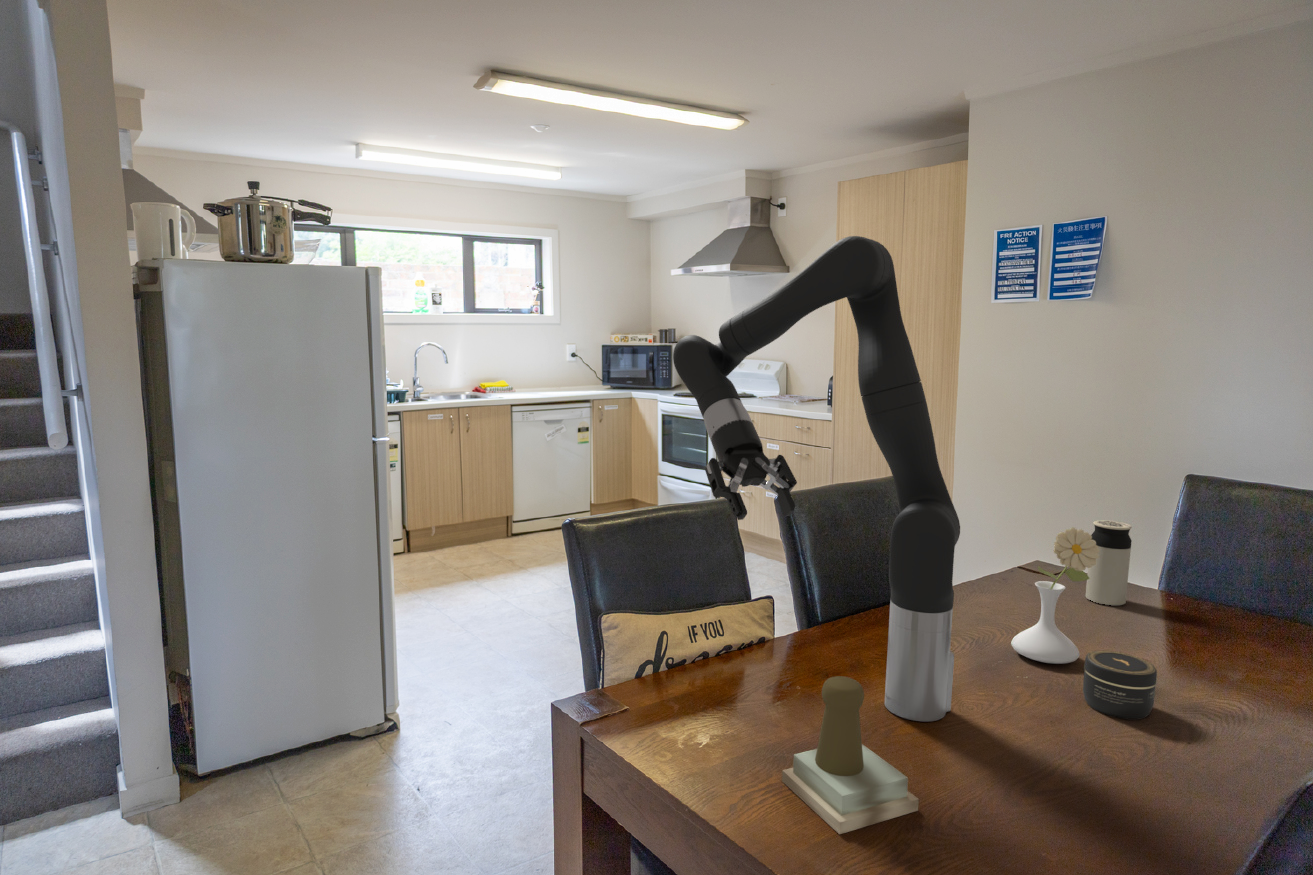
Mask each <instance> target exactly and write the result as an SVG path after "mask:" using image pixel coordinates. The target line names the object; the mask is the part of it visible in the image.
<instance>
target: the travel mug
mask: <svg viewBox="0 0 1313 875" xmlns="http://www.w3.org/2000/svg"><path fill="white" fill-rule="evenodd" d="M1093 525H1094V530H1093V532H1092V534H1090V535H1091V536H1092V539H1091V540H1095V541H1096V545H1097V546H1098V547H1099V553H1097V554H1098V555H1099V558H1098V559H1096V563H1097V564H1096V565H1092V567H1091V568H1087V573H1086V574H1087V575H1088V577H1089V578H1090V579H1088V580H1086V586H1085V598H1086V599H1088V600H1089V601H1090V600H1091V601H1090V602H1092V601H1093V602H1092V603H1095V602H1096V603H1095V604H1098V603H1099V604H1100V605H1102V604H1105V605H1104V606H1109V605H1111V606H1110V607H1119V606H1123V605H1125V604H1126V603H1127V591H1128V581H1129V571H1130V570H1129V569H1130V561H1131V552H1132V551H1131V549H1132V541H1133V540H1132V538H1131V536H1130V530H1131V529H1132V525H1131V524H1129V523H1125V522H1121V521H1116V520H1095V521H1093ZM1099 604H1098V605H1099Z"/></svg>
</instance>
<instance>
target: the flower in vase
mask: <svg viewBox="0 0 1313 875" xmlns="http://www.w3.org/2000/svg"><path fill="white" fill-rule="evenodd" d="M1091 535H1092V534H1090V533H1089V532H1088V531H1084V529H1083V528H1080V529H1078V528H1076V527H1070V529H1069V528H1067V529H1065V530H1064V532H1063V531H1061V532H1059V533H1057V536H1056V537H1055V540H1056V541H1054V544H1053V545H1054V546H1053V547H1054V548H1053V553H1054V554H1055V555H1056V558H1057V559H1058V560H1059V563H1060V564H1061V565H1062V566H1063V565H1064V566H1065V567H1064V568H1063V569H1062V571H1061V572H1060V573H1059V575H1058V576H1056V575H1055V574H1054V573H1052V572H1049V571H1046V570H1044V569H1043V568H1042V567H1040V565H1038V566H1037V568H1038V571H1039V572H1040V573H1042V574H1044V575H1046V576H1049V577H1051V578H1052V579H1055V580H1054V581H1047V580H1045V581H1044V580H1042V581H1041V580H1039V581H1035V582H1034V585H1035V586H1036V588H1037V590H1038V592H1039V595H1040V596H1039V597H1040V602H1041V604H1040V606H1041V609H1040V617H1039V620H1038V622H1037V623H1036V624H1034V625H1033V626H1031V627H1029V628H1027V629H1024V630H1022V631H1020V632H1019V633H1018V634H1016V635H1015V636H1014V637H1013V638H1012V640H1011V643H1010V645H1011V647H1012V648H1013V650H1014V651H1015V652H1017V653H1018V654H1019V655H1022V656H1024V657H1026V658H1027V659H1030V660H1033V661H1037V662H1040V663H1046V664H1056V665H1059V664H1069V663H1073V662H1075V661H1077V659H1078V658H1079V657H1080V652H1079V649H1078V647H1077V646H1076V645H1075V644H1074V642H1073V641H1072V640H1071V639H1070V638H1068V636H1066V635H1065V634H1064V633H1063V632H1062V630H1061V629H1059V628H1058V627H1057V625H1056V622H1055V611H1056V606H1057V602H1058V599H1059V597H1060V595H1061V594H1062V592H1064V590H1066V586H1065V585H1064V584H1061V583H1057V582H1058V581H1059V580H1060V578H1062V576H1063V575H1064V574H1065V575H1066V576H1067V577H1068V578H1069V579H1070V580H1071V581H1072V582H1084V581H1087V580H1088V579H1090V578H1089V577H1088V575H1087V574H1088V573H1086V572H1085V570H1086V568H1087V569H1088V568H1091V567H1092V565H1096V564H1097V563H1096V559H1098V558H1099V555H1098V554H1097V553H1099V547H1098V546H1097V545H1096V541H1095V540H1091V539H1092V536H1091ZM1067 568H1068V569H1067Z"/></svg>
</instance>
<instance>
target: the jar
mask: <svg viewBox="0 0 1313 875" xmlns="http://www.w3.org/2000/svg"><path fill="white" fill-rule="evenodd" d="M1083 671H1084V672H1083V680H1082V681H1083V682H1082V683H1083V685H1082V693H1083V698H1084V700H1085V702H1086V703H1087V705H1088V706H1089V707H1090V708H1092V709H1093V710H1095V711H1097V712H1099V713H1101V714H1104V715H1107V716H1109V717H1113V718H1117V719H1123V720H1141V719H1144V718H1146V717H1148V716H1149V715H1150V714H1151V711H1152V709H1153V706H1154V701H1155V696H1156V695H1155V694H1156V686H1157V683H1158V680H1157V676H1158V672H1157V667H1155V665H1154V664H1152V663H1151V662H1150V661H1148V660H1146V659H1145V658H1141V657H1139V656H1136V655H1133V654H1129V653H1126V652H1121V651H1115V650H1105V649H1104V650H1094V651H1091V652H1088V653H1087V654H1086V655H1085V658H1084V665H1083Z"/></svg>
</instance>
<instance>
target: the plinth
mask: <svg viewBox="0 0 1313 875" xmlns="http://www.w3.org/2000/svg"><path fill="white" fill-rule="evenodd" d="M816 752H817V748H815V749H810V750H807V751H803V752H799V753H794V754H793V761H792V764H793V765H792V767H790V768H784V769H782V771H781V782H782V783H783V784H784V785H785V786H786V787H787V788H789V790H790V791H792V792H793V793H794V795H796V796H797V797H798V798H800V800H802V801H803V802H804V803H805V804H806V805H807V806H808V807H809V808H810V809H811V810H812V811H814V813H815V814H816V815H817V816H819V817H820V819H822V820H823V821H824V822H825V823H826V824H828V826H830V828H831V829H833V830H834V831H835V832H836V833H838V835H842V834H845V833H848V832H852V831H855V830H859V829H863V828H865V827H868V826H872V825H876V824H879V823H881V822H885V821H888V820H892V819H894V818H898V817H901V816H904V815H908V814H911V813H915V812H918V811H919V803H920V799H919V798H918V797H916V795H914V794H913V793H911V792H910V791H909V790H908V785H909V784H908V782H909V777H907V775H905V774H904V773H903V772H901V771H900V770H898V769H897V768H896V767H894V766H893V765H891V764H890V763H889V762H887V761H886V760H884V759H883V758H882V757H880V756H879V755H878V754H877V753H875V752H874V751H872V750H871V749H869V748H868V747H867V746H866V745H864V744H863V743H862V752H863V764H864V767H863V770H862V771H861V772H860V773H859V774H856V775H853V776H838V775H833V774H830V773H828V772H825V771H824V770H822V769H821V768H819V767H818V766H817V764H816V762H815V757H816Z"/></svg>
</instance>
